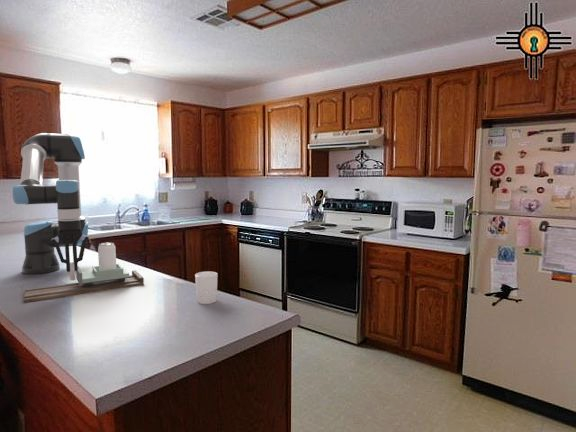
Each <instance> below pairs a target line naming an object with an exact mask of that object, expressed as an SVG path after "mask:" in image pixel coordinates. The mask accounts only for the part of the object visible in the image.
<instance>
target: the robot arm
mask: <svg viewBox="0 0 576 432" xmlns="http://www.w3.org/2000/svg"><path fill="white" fill-rule="evenodd" d="M84 151H85V150H84V145H83V141H82V138H81V136H80V135H79V134H72V133H49V132H48V133H47V132H41V133H37V134H35V135H33V136H31V137H29V138H28V139H26V140H25V142H24V143H23V144H22V146H21V148H20V155H21V158H22V164H21V165H22V166H21V175H20V184H17V185H16V184H15V185H14V186H13V187H12V199H13V203H14V204H17V205H25V206H27V205H28V206H29V205H41V204H42V205H44V204H49V205H50V204H56V205H57V207H56V208H57V211H56V212H57V223H54V222H53V220H42V221H36V222H32V223H28V224H26V225H24V227H23V236H24V238H23V239H24V251H25V257H24V259H23V264H22V267H21V270H22V271H21V272H22V274H25V275H28V274H29V275H37V274H46V273H51V272H55V271H58V270H60V268H61V267H60V263H62V264H65V267H66V269H65V270H66V272H68V273H69V279H70V281H75V280H76V271H77V270H78V266H79V265H78V264H79V262H81V261H83V259H84V254H85V251H86V250H85V249H86V245H87V242H88V240H90V239H89V235H88V234H89V221H86V217H84V216H83V215H82V207H81V205H82V204H81V191H80V189H81V188H80V187H81V185H80V169H79V168H80V166H81V164H82V163H83V161H82V160H85V158H86V157H85V152H84ZM46 159H53V163H54V164H55V165H56V166H57V169H58V173H57V174H58V180H56V181H55V184H43V183H44V162H45V160H46ZM77 246H80V249H79V253H78V248H77ZM70 247H72V257H73V258H72V262H71V258H70V257H71V255H70ZM61 248H64V250H65V258H64V256H63V253H62V250H61ZM55 249H56V252H57V254H58V257H59V258H57V255H56V254H55ZM58 259H59V260H58ZM59 261H60V262H59Z"/></svg>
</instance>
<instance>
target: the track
mask: <svg viewBox="0 0 576 432" xmlns="http://www.w3.org/2000/svg"><path fill="white" fill-rule="evenodd" d="M144 284H145V280H144V277H143V276H142V275H141V274H140V273H139V272H138V271H137V270H135V269H134V270H131V274H129V277H127V278H125V281H124V282H120V281H119V279H112V280H104V281H97V282H93V285H92V286H90V287H88V286H87V285H86V283H83V286H80V285H79V283H78V281H77V282H72V283H63V284H56V285H49V286H41V287H35V288H33V287H32V288H26V289H24V295H23V303H30V302H36V301H37V302H38V301H43V300H44V301H45V300H50V299H56V298H63V297H69V296H76V295H77V296H78V295H85V294H91V293H97V292H104V291H111V290H117V289H125V288H131V287H137V286H138V287H139V286H143V285H144Z"/></svg>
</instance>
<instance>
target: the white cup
mask: <svg viewBox="0 0 576 432" xmlns="http://www.w3.org/2000/svg"><path fill="white" fill-rule="evenodd" d="M194 277H195V278H194V280H195V282H194V283H195V292H196V301H197V303H198V304H199V305H200V304H201V305H210V304H214V303H216V302H217V294H218V272H216V271H210V270H209V271H208V270H207V271H199V272H196V273H195V274H194Z"/></svg>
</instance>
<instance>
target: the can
mask: <svg viewBox="0 0 576 432" xmlns="http://www.w3.org/2000/svg"><path fill="white" fill-rule="evenodd" d="M97 249H98V250H97V253H98V266H99V271H104V270H112V269H116V264H117V254H116V252H117V251H116V245H115V242H108V241H107V242H101V243H99V244H98V247H97Z"/></svg>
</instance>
